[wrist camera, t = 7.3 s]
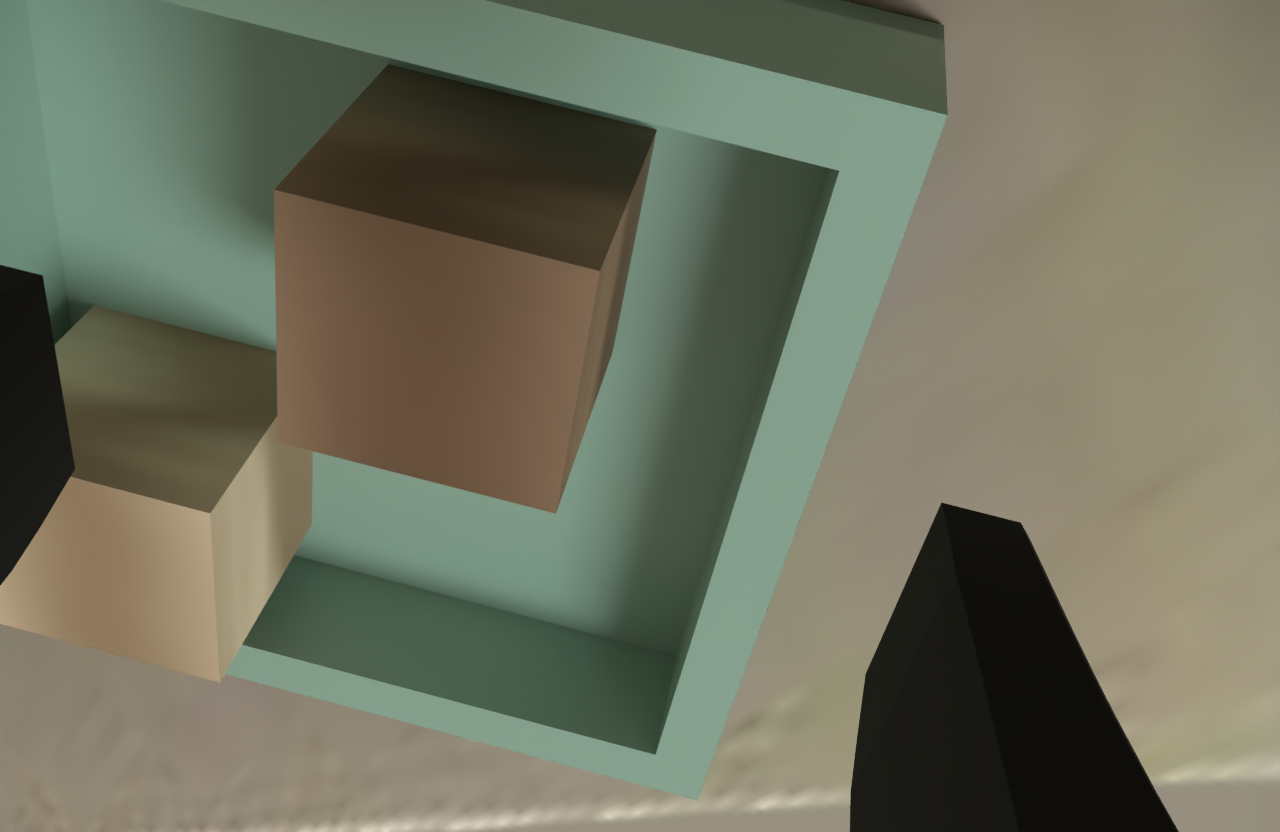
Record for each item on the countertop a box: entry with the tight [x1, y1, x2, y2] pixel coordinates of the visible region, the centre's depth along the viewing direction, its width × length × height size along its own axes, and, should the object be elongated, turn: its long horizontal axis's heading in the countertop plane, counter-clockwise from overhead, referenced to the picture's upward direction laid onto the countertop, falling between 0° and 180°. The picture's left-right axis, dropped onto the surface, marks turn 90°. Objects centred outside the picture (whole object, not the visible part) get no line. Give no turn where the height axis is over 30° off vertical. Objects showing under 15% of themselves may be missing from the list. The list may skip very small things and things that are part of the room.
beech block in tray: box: [0, 305, 313, 682], centre depth 21 cm, size 4×4×4 cm
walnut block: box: [274, 64, 657, 514], centre depth 17 cm, size 4×4×4 cm
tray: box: [0, 0, 948, 800], centre depth 20 cm, size 14×14×3 cm
